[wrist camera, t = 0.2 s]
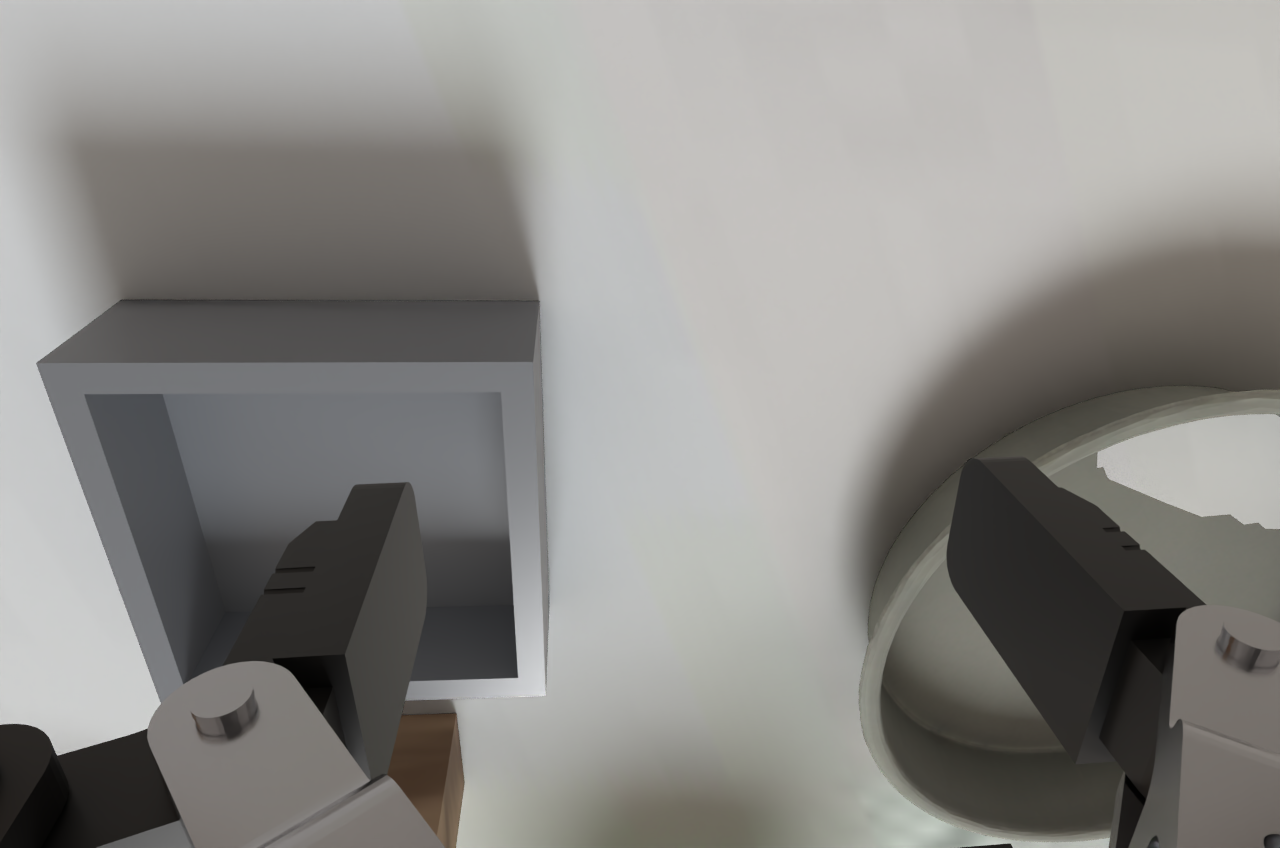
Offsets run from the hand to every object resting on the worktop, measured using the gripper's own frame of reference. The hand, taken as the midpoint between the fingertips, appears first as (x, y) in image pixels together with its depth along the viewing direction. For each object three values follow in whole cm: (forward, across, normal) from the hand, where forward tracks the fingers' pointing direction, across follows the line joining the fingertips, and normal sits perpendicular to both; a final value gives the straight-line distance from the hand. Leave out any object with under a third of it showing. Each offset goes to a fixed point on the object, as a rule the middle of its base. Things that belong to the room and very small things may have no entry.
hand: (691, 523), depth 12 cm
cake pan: (+19, -22, +17) cm, 33 cm away
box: (+18, +10, +9) cm, 23 cm away
